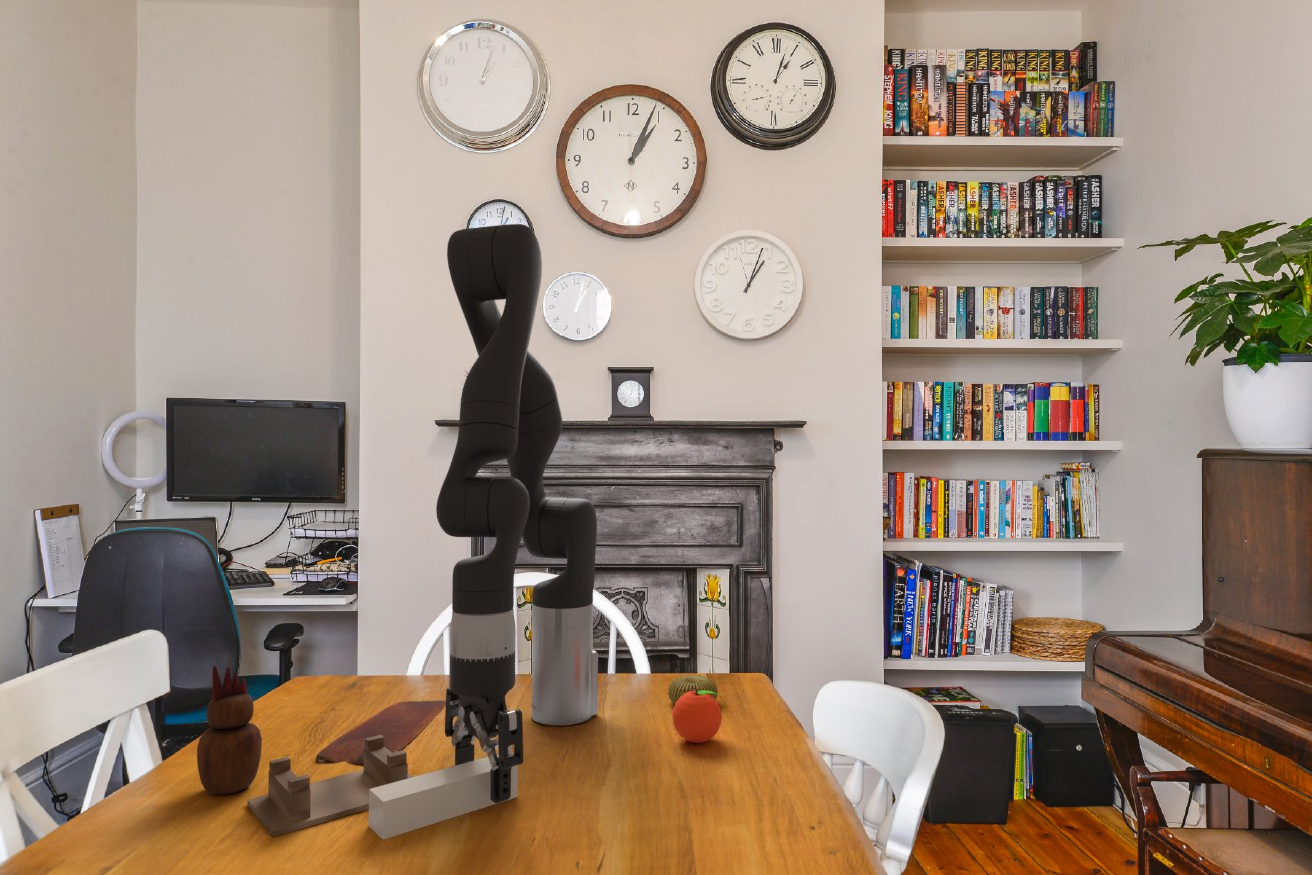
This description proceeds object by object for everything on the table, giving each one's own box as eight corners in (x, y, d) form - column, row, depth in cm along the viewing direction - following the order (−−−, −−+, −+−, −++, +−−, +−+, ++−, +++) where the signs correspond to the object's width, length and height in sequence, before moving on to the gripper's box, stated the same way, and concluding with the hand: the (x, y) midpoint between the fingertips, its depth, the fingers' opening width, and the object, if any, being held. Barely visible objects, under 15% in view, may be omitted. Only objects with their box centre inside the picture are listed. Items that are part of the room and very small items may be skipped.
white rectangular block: (500, 788, 96) (500, 753, 96) (517, 799, 93) (517, 763, 93) (368, 828, 86) (369, 789, 86) (382, 842, 83) (383, 801, 83)
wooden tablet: (384, 771, 102) (384, 757, 102) (310, 767, 103) (310, 754, 103) (456, 705, 128) (456, 694, 128) (396, 702, 129) (396, 692, 129)
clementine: (714, 728, 116) (714, 680, 116) (737, 744, 110) (737, 693, 110) (664, 736, 113) (664, 686, 113) (685, 753, 107) (685, 700, 107)
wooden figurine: (195, 804, 91) (197, 672, 91) (197, 785, 96) (199, 660, 96) (261, 792, 94) (263, 665, 94) (260, 775, 99) (262, 654, 99)
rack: (392, 766, 102) (392, 728, 102) (426, 791, 94) (426, 751, 94) (247, 804, 91) (247, 762, 91) (272, 836, 83) (273, 790, 83)
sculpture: (723, 675, 130) (709, 688, 123) (723, 699, 130) (709, 714, 123) (677, 670, 133) (661, 683, 125) (677, 694, 133) (661, 708, 125)
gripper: (543, 654, 90) (542, 799, 89) (481, 632, 100) (480, 761, 100) (484, 666, 85) (482, 819, 84) (425, 642, 95) (424, 777, 95)
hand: (481, 788), depth 92 cm, fingers open, 8 cm apart
